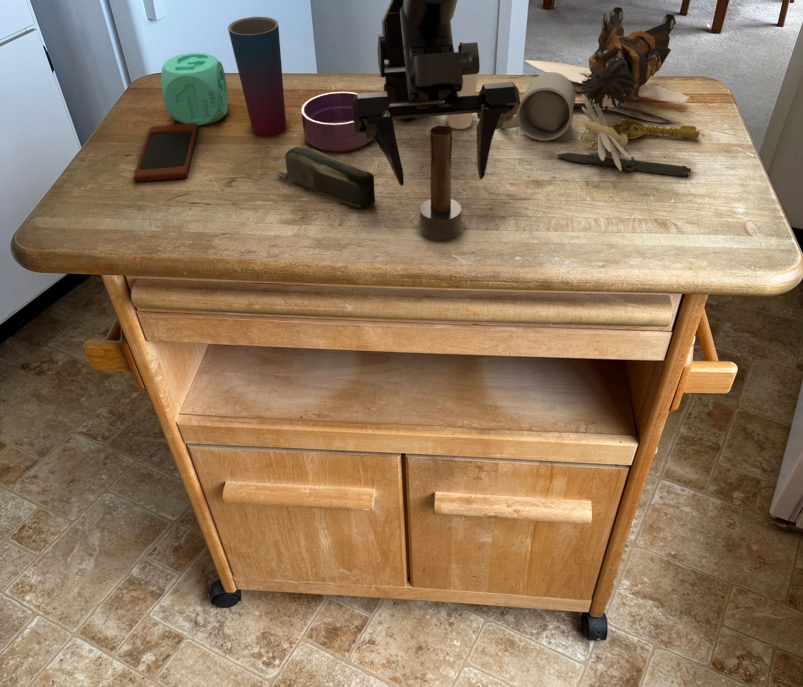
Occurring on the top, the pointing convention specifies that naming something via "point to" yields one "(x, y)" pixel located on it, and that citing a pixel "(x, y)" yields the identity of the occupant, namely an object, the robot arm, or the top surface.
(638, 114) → the knife
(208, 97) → the decorative dice
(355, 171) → the dark green rounded bar
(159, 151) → the smartphone
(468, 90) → the cup
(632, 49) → the figurine
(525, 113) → the ceramic mug
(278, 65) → the cup
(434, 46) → the robot arm
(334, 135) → the bowl
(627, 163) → the knife
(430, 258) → the top surface
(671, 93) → the knife
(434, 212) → the brown handled tamper
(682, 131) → the key
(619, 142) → the toy
